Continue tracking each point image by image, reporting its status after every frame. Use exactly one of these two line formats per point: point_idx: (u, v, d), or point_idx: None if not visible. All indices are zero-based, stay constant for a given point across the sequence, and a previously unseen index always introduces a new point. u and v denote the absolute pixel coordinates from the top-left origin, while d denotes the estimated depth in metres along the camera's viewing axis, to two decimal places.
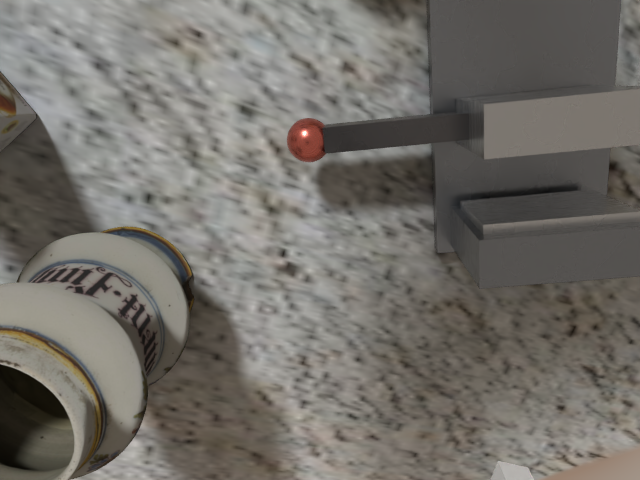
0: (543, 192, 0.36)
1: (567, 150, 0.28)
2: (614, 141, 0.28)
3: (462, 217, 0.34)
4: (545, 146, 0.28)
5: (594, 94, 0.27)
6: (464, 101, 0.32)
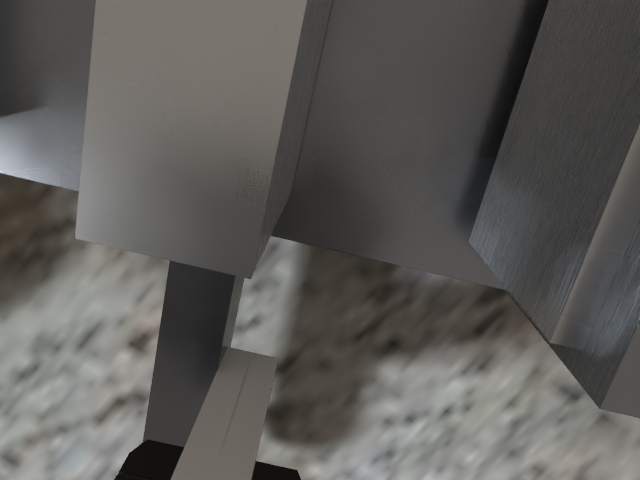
0: (535, 24, 0.14)
1: None
2: None
3: None
4: (267, 70, 0.08)
5: None
6: None
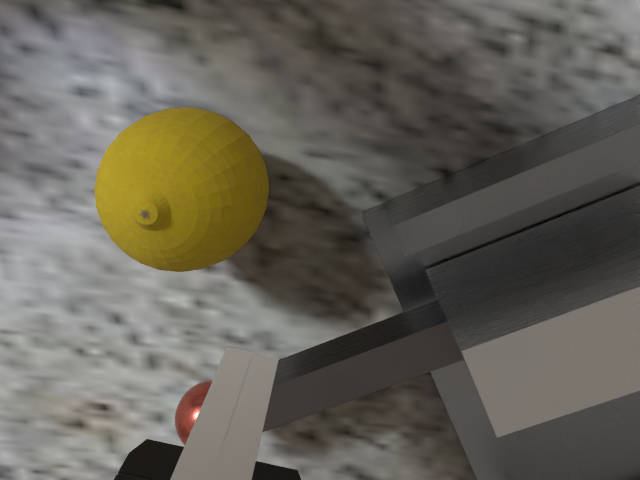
0: None
1: None
2: None
3: None
4: (608, 388, 0.14)
5: None
6: (435, 292, 0.19)
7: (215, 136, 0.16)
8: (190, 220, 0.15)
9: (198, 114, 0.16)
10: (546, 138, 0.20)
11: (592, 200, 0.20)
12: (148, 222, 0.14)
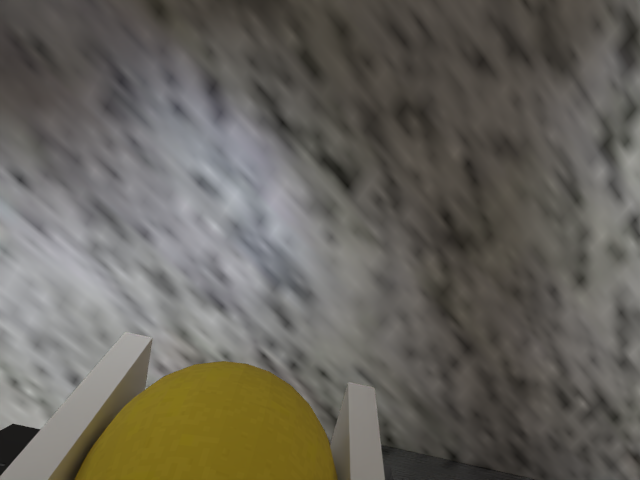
0: None
1: None
2: None
3: None
4: None
5: None
6: None
7: None
8: None
9: (307, 478, 0.09)
10: None
11: None
12: None
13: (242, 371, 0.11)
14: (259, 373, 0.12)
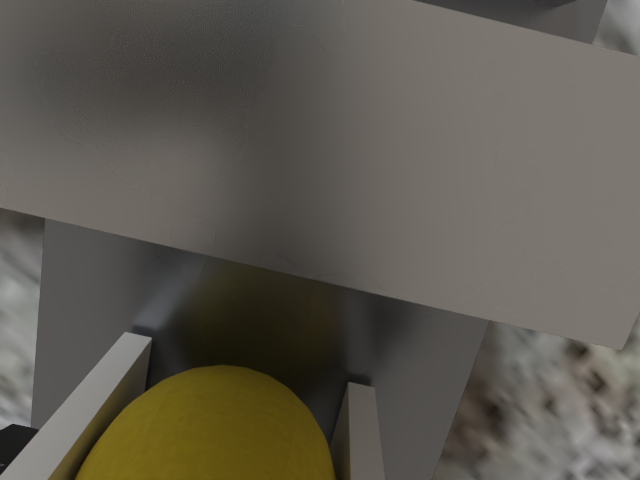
0: None
1: (242, 257, 0.06)
2: (466, 287, 0.06)
3: None
4: (137, 205, 0.06)
5: (428, 11, 0.05)
6: None
7: None
8: None
9: None
10: None
11: None
12: None
13: (241, 376, 0.11)
14: (258, 377, 0.11)
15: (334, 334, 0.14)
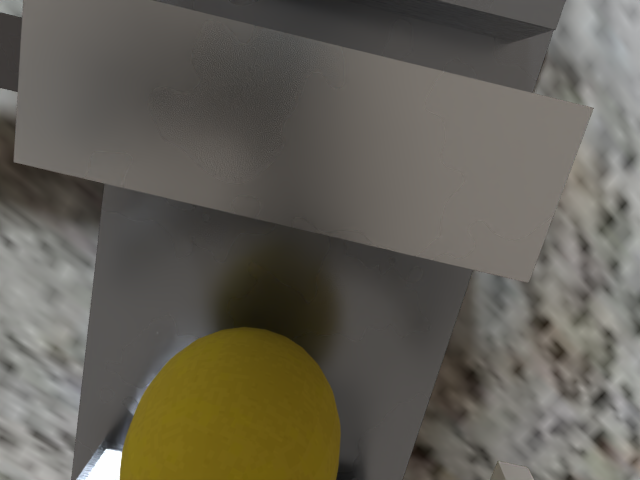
0: None
1: (278, 220, 0.09)
2: (425, 240, 0.09)
3: None
4: (211, 185, 0.09)
5: (396, 64, 0.08)
6: None
7: (323, 469, 0.12)
8: None
9: (316, 409, 0.12)
10: None
11: None
12: None
13: (263, 332, 0.14)
14: (276, 335, 0.14)
15: (336, 306, 0.17)
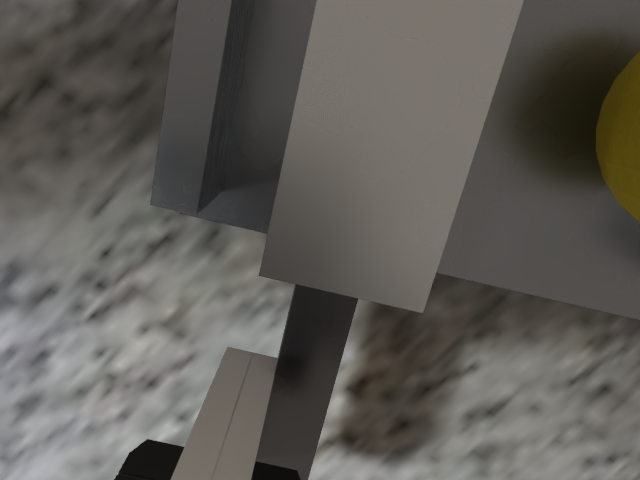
0: None
1: (504, 47, 0.08)
2: None
3: None
4: (459, 121, 0.08)
5: None
6: None
7: None
8: None
9: None
10: None
11: None
12: None
13: (608, 101, 0.12)
14: (612, 87, 0.12)
15: (583, 23, 0.14)
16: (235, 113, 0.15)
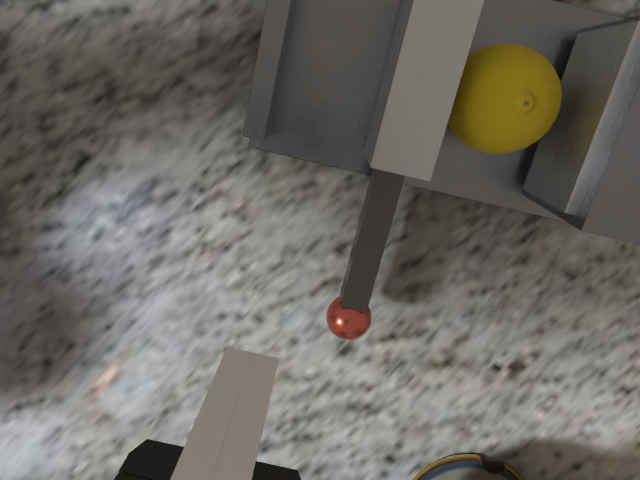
0: None
1: (457, 85, 0.23)
2: (468, 27, 0.23)
3: (543, 204, 0.29)
4: (442, 110, 0.24)
5: (404, 41, 0.23)
6: (366, 154, 0.29)
7: (502, 49, 0.24)
8: (543, 87, 0.23)
9: (476, 55, 0.25)
10: None
11: (324, 13, 0.29)
12: (530, 105, 0.23)
13: None
14: None
15: None
16: (278, 95, 0.31)
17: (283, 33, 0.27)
